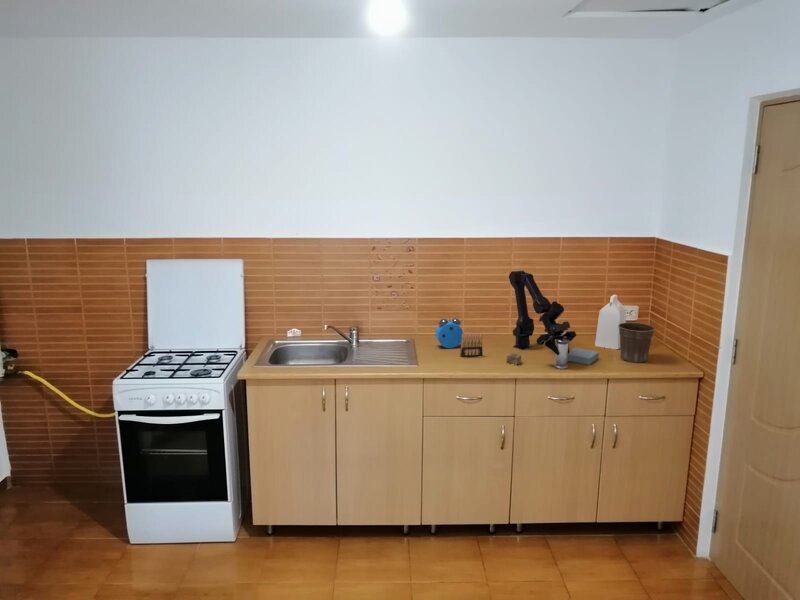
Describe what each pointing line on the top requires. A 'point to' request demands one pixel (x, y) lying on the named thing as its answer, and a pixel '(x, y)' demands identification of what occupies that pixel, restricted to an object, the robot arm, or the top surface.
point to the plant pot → (635, 341)
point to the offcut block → (513, 358)
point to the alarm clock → (449, 333)
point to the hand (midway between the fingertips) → (563, 354)
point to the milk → (610, 324)
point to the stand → (582, 356)
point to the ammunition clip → (471, 346)
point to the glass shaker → (561, 353)
